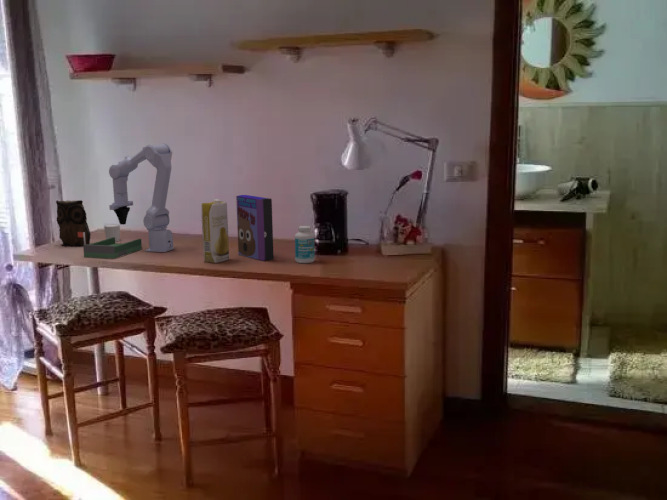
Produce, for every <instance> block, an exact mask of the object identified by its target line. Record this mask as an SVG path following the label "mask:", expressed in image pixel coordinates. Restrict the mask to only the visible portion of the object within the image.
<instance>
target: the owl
mask: <svg viewBox="0 0 667 500" xmlns="http://www.w3.org/2000/svg"><path fill="white" fill-rule="evenodd" d="M55 204H56V215H57V216H56V222H57V224H58V227H59V229H58V232H59V239H60V240H61V242H62V244H61V246H62V247H76V248H78V247H80V248H81V247H83V245H84V237H78V232H85V241H86V244H87V245H89V244H91V236H92V235H91V231H90V228H89V225H88V221H87V219H88V218H87V212H86V210H85V207H84V205H83V200H82V199H81V200H56V201H55Z"/></svg>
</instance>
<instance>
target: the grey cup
mask: <svg viewBox="0 0 667 500" xmlns="http://www.w3.org/2000/svg"><path fill="white" fill-rule="evenodd" d="M103 229H104V234H105V240H106V239H109V238H112V237H115V243H117V242H119V241H121V240H120V239H121V236H120V235H121V224H107V225H104V226H103Z"/></svg>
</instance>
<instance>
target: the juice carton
mask: <svg viewBox="0 0 667 500" xmlns="http://www.w3.org/2000/svg"><path fill="white" fill-rule="evenodd" d="M200 206H201V207H200V213H201V215H200V216H201V230H202V231H201V233H202V249H203V250H202V251H203V260H204V261H203V262H205V263H207V262H208V263H212V264H213V263H214V264H218V263H221V262H225V261H228V260H230V247H229V246H230V245H229V223H228V222H229V220H228V219H229V218H228V203H227V201H221V200H220V199H217V198H216V199H213V201H210V202H202V203H201V204H200Z"/></svg>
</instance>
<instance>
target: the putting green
mask: <svg viewBox="0 0 667 500" xmlns="http://www.w3.org/2000/svg"><path fill="white" fill-rule="evenodd" d="M78 237H84V245H83V246H82V247H83V257H84V258H91V259H92V258H93V259H94V258H95V259H96V258H97V259H109V258H111V259H110V260H114V258H115V259H118V258H121V257H123V255H124V256H126V255H129V254H132V253H135V252H139V251H142V250H143V247H142V246H143V243H142V238H137V239H133V240H131V241H127V242H124V243H117V242H115V237H112V238H109V239H106V238H105V239H102V240H99V241H95V242H92V243H90V244H89V245H87V244H86V241H85V232H78ZM120 256H121V257H120ZM117 257H118V258H117Z"/></svg>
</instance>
